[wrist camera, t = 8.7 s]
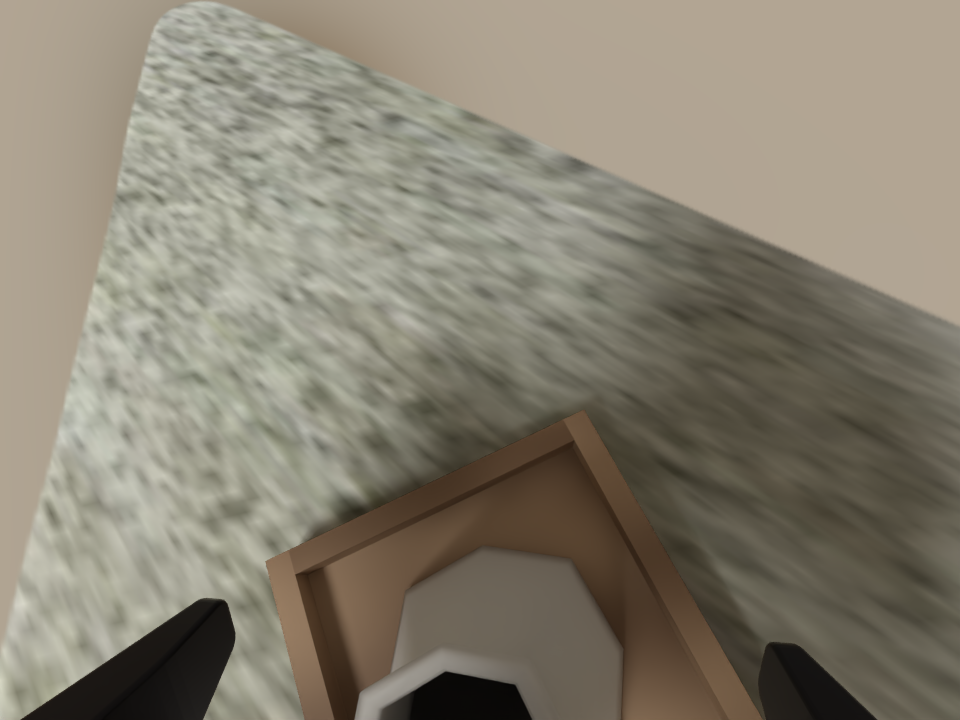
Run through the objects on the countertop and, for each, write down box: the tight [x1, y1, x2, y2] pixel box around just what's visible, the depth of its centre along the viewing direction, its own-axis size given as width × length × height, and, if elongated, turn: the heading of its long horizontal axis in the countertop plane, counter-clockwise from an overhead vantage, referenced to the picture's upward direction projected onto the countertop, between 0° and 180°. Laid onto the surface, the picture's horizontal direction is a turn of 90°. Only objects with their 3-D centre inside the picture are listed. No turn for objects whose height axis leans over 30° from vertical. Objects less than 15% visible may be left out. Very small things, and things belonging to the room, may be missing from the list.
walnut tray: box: [265, 410, 763, 720], centre depth 16 cm, size 12×12×2 cm
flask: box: [354, 545, 624, 720], centre depth 11 cm, size 7×7×10 cm
